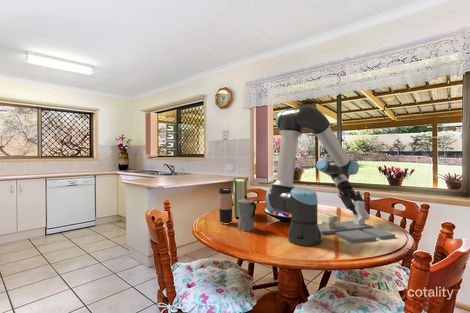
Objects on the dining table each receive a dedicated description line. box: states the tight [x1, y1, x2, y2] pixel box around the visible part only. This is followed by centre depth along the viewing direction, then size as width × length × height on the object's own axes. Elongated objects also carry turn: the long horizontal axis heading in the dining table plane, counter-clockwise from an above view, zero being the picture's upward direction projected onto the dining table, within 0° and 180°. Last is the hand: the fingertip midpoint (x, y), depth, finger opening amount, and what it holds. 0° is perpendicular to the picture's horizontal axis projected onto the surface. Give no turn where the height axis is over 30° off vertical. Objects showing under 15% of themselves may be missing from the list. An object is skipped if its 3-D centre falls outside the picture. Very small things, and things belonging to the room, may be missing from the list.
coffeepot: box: [237, 195, 257, 232], centre depth 133 cm, size 15×9×18 cm, turn 33°
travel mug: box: [218, 187, 233, 223], centre depth 146 cm, size 8×8×20 cm
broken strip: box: [335, 227, 396, 244], centre depth 119 cm, size 24×11×2 cm, turn 105°
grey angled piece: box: [318, 200, 374, 236], centre depth 131 cm, size 30×12×14 cm, turn 105°
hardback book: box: [232, 177, 248, 218], centre depth 164 cm, size 18×7×24 cm, turn 3°
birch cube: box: [321, 213, 340, 229], centre depth 130 cm, size 6×6×6 cm
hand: (364, 218), depth 131 cm, fingers closed on grey angled piece, 4 cm apart
